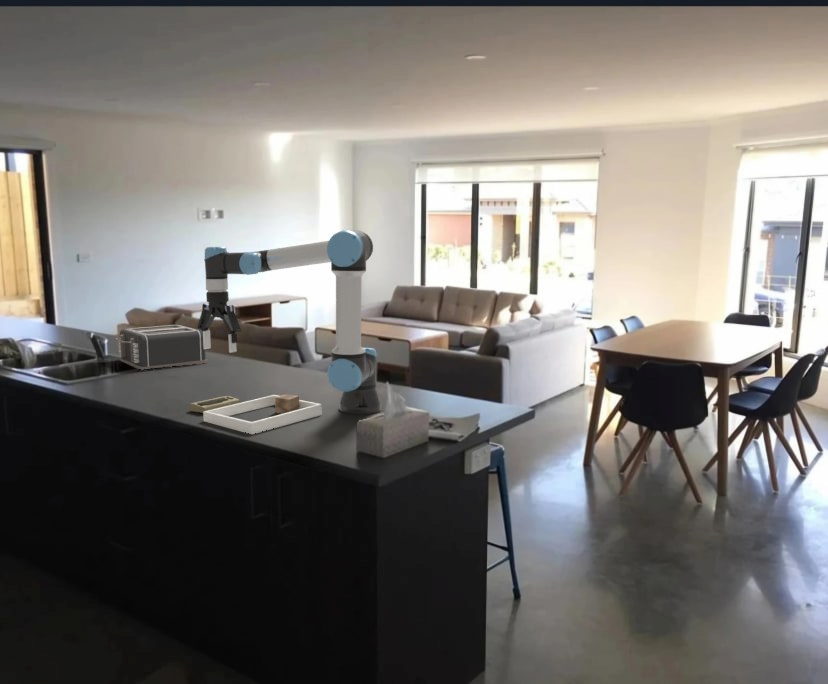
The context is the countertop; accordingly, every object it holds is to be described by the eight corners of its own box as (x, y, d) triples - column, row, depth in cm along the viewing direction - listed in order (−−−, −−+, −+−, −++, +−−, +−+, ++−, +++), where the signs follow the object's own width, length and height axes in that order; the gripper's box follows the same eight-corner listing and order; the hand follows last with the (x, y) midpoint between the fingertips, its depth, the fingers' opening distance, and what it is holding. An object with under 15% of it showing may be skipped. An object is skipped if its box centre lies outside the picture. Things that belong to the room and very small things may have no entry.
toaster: (109, 365, 348) (107, 329, 346) (182, 357, 371) (180, 323, 368) (131, 375, 326) (129, 336, 323) (207, 366, 348) (206, 330, 346)
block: (299, 412, 262) (299, 396, 261) (289, 416, 257) (289, 399, 256) (285, 410, 265) (285, 394, 264) (275, 414, 259) (275, 397, 258)
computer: (204, 413, 253) (203, 404, 253) (189, 411, 258) (189, 402, 258) (240, 405, 266) (239, 396, 265) (226, 403, 271) (225, 394, 270)
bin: (321, 415, 258) (321, 404, 257) (252, 435, 232) (251, 423, 232) (274, 405, 272) (274, 394, 271) (203, 423, 246) (203, 411, 245)
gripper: (249, 291, 254) (252, 352, 257) (202, 288, 268) (205, 346, 271) (233, 293, 248) (235, 355, 251) (185, 290, 262) (188, 348, 265)
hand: (219, 350), depth 261 cm, fingers open, 13 cm apart
